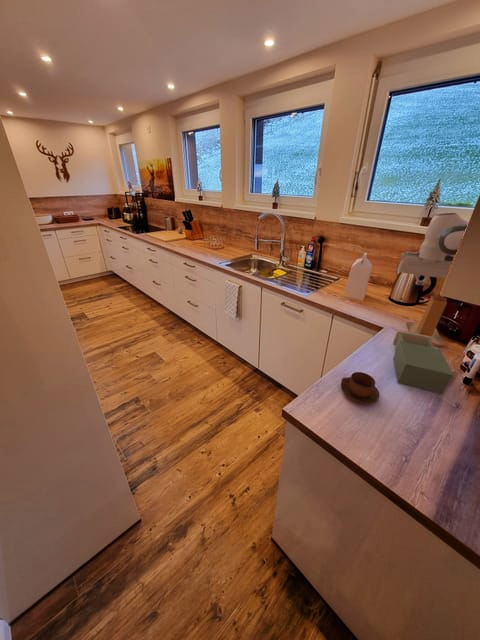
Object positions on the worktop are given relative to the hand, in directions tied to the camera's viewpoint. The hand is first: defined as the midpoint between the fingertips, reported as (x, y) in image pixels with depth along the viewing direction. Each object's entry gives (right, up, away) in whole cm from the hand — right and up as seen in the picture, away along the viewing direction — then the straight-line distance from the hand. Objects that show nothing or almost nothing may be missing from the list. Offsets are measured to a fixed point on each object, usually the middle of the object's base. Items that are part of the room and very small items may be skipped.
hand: (419, 284), depth 117 cm
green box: (-15, -36, -20) cm, 44 cm away
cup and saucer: (-40, -41, -29) cm, 64 cm away
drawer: (-10, -30, -9) cm, 32 cm away
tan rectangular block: (+6, -22, +6) cm, 23 cm away
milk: (-9, -1, +46) cm, 47 cm away
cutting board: (+6, -23, +6) cm, 25 cm away
